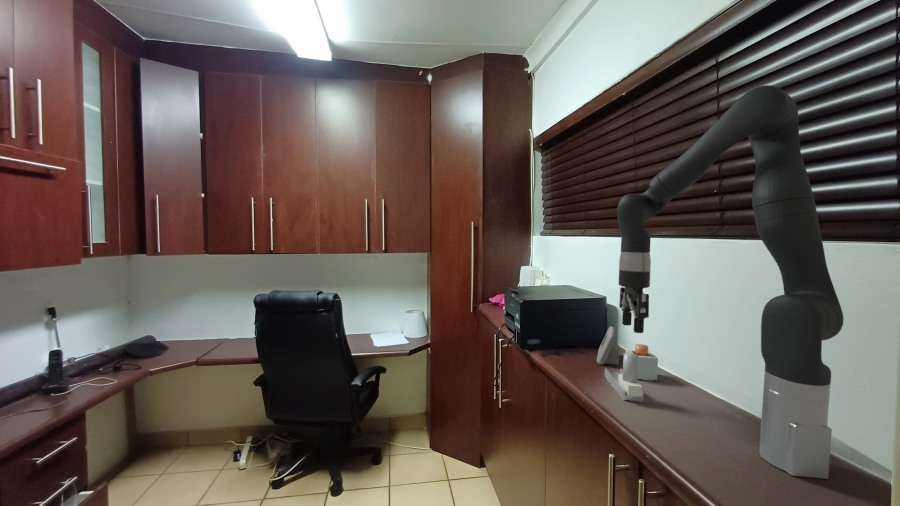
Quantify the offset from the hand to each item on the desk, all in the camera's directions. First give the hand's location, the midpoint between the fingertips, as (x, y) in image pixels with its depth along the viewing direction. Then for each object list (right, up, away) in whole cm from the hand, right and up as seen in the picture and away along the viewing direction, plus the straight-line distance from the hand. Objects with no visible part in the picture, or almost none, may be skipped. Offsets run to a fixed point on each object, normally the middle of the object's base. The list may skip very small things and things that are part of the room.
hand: (632, 328), depth 99 cm
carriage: (0, -17, +1) cm, 17 cm away
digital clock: (+6, -18, +31) cm, 36 cm away
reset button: (+11, -12, +16) cm, 23 cm away
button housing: (+11, -18, +16) cm, 27 cm away
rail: (0, -19, +7) cm, 20 cm away
